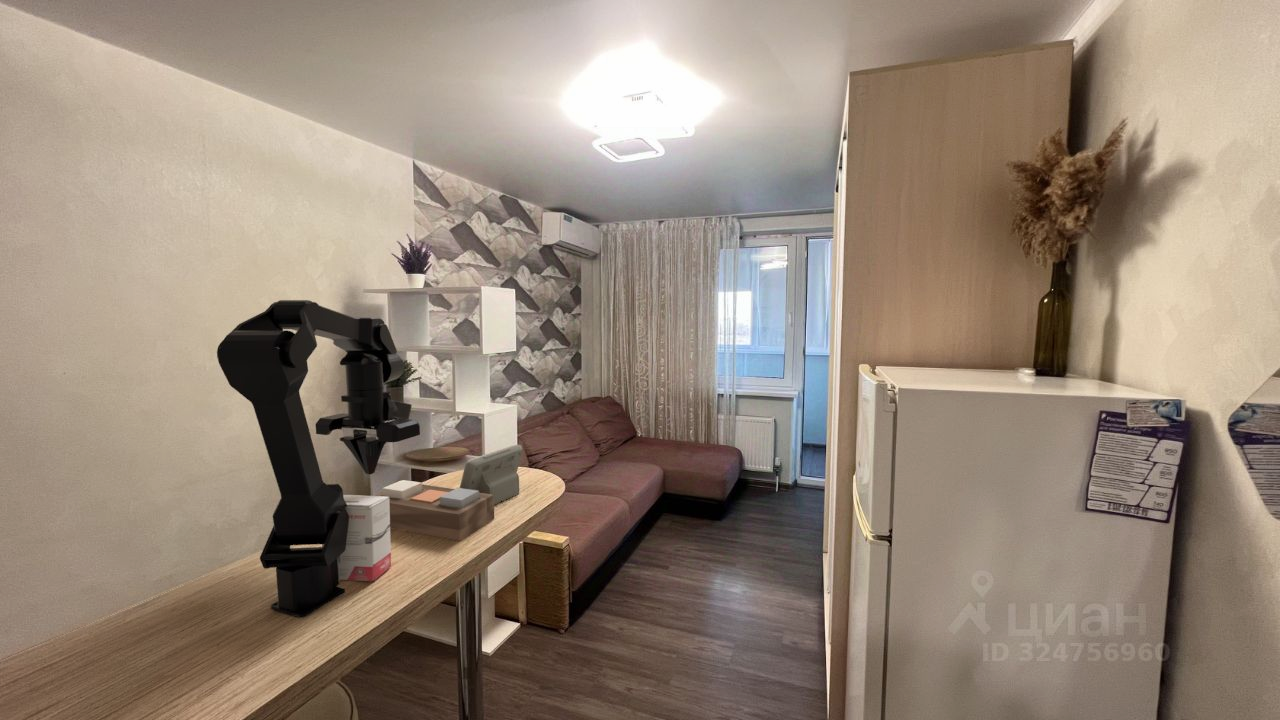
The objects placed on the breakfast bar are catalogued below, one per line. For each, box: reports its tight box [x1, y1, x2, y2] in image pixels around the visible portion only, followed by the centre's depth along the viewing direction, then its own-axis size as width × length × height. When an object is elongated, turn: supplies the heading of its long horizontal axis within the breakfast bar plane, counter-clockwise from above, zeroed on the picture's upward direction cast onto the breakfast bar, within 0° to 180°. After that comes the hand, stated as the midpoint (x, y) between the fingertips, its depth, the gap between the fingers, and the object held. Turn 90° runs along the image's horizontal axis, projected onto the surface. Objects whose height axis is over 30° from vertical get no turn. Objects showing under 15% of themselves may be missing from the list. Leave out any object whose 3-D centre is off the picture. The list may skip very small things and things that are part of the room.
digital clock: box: [459, 444, 523, 506], centre depth 107 cm, size 16×9×11 cm, turn 140°
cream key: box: [382, 479, 423, 499], centre depth 97 cm, size 5×5×3 cm
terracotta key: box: [411, 490, 448, 504], centre depth 95 cm, size 5×5×3 cm
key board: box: [374, 483, 495, 542], centre depth 95 cm, size 10×22×5 cm, turn 71°
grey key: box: [440, 487, 479, 509], centre depth 92 cm, size 5×5×3 cm
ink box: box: [321, 494, 392, 582], centre depth 76 cm, size 9×5×12 cm, turn 84°
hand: (370, 473), depth 87 cm, fingers closed
